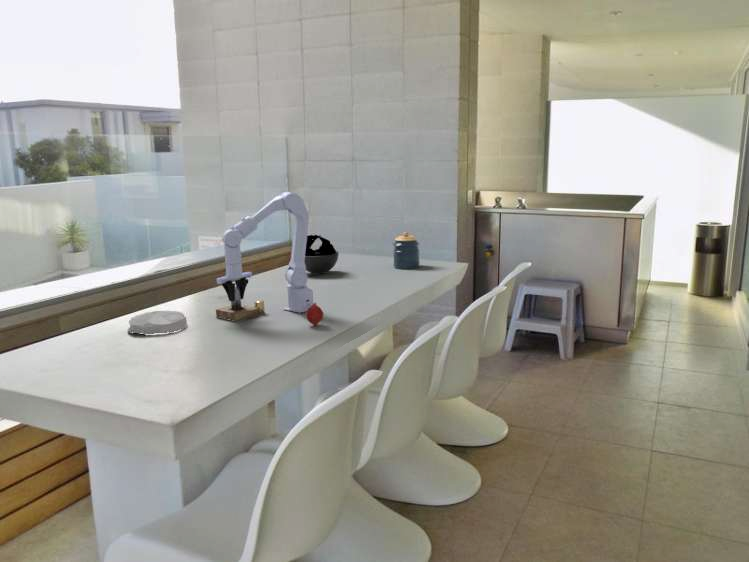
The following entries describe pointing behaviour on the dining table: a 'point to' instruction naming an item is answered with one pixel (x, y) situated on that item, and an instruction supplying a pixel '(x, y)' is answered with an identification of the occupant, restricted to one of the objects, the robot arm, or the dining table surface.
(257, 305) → the brass pin short
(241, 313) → the collar block
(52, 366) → the dining table surface
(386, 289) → the dining table surface
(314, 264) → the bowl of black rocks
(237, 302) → the steel pin long
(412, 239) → the canister
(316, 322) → the onion
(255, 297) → the dining table surface
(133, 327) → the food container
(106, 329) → the dining table surface
